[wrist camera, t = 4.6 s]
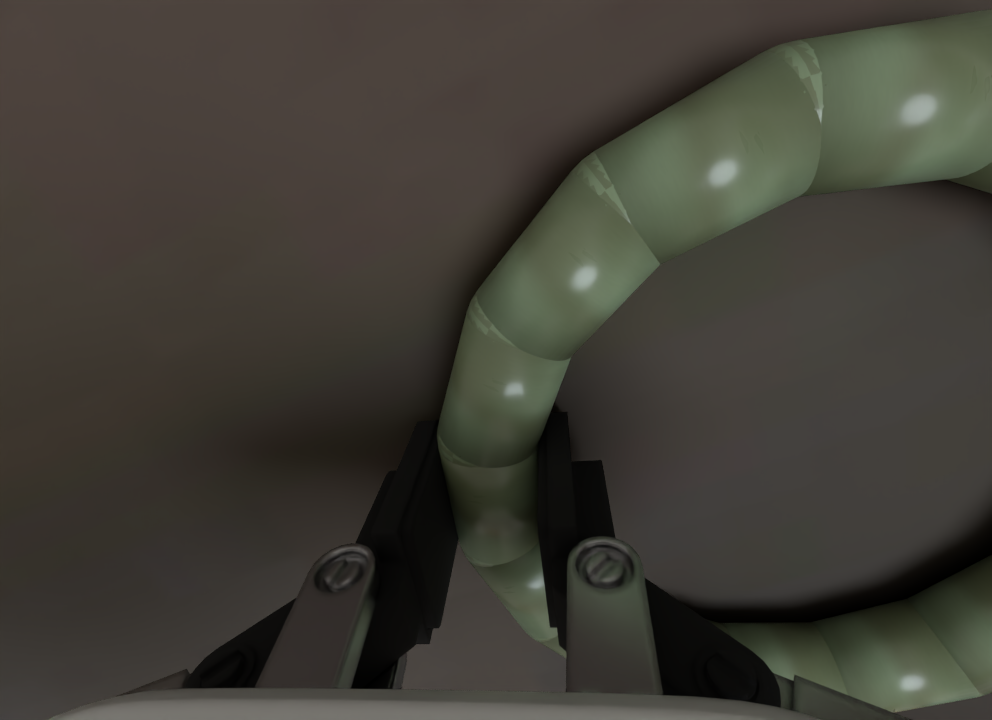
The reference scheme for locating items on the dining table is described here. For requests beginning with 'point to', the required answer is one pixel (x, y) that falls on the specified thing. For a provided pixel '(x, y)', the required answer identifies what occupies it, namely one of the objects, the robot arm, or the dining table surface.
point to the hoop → (681, 227)
